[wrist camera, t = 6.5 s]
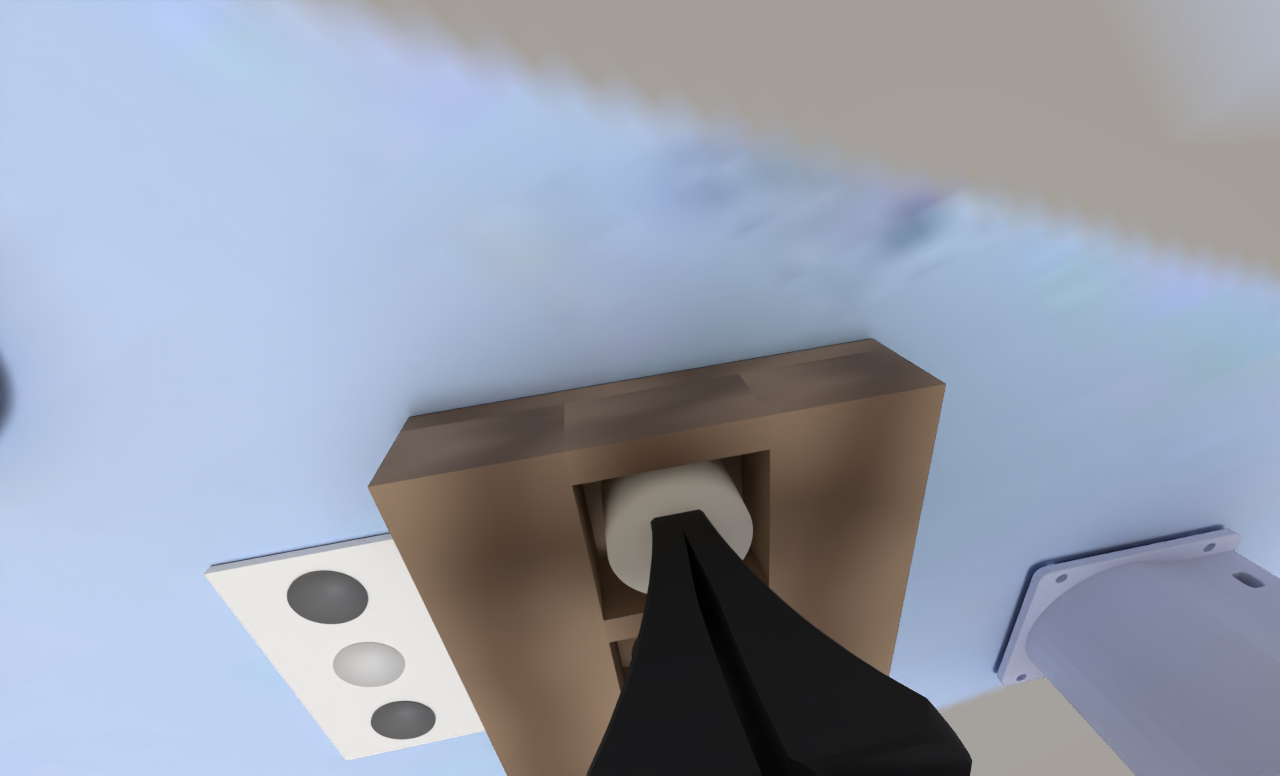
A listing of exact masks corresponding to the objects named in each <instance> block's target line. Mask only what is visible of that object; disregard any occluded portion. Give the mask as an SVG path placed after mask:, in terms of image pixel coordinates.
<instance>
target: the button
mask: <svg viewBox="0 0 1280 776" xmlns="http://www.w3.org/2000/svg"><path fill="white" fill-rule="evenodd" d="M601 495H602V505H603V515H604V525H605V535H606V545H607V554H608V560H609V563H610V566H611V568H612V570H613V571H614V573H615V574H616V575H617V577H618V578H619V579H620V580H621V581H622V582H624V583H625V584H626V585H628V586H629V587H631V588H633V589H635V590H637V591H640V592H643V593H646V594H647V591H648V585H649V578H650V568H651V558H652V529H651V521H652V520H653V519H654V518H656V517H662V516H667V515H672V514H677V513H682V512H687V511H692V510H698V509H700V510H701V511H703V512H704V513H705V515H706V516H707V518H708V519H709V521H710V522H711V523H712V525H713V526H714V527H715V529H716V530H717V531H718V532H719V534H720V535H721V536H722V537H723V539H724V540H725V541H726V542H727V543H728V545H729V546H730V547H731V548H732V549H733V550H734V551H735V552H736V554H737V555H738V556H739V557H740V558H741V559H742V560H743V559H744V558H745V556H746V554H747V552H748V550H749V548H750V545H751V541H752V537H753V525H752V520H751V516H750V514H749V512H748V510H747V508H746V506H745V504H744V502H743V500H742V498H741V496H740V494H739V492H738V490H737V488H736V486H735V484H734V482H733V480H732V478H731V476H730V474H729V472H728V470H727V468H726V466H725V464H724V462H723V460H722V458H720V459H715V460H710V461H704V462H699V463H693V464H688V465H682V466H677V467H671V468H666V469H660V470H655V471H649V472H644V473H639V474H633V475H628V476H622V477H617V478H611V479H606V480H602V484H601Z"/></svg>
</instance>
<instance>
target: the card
mask: <svg viewBox="0 0 1280 776" xmlns="http://www.w3.org/2000/svg"><path fill="white" fill-rule="evenodd" d="M204 575H205V576H206V578H207V579H208V580H209V581H210V583H211V584H212V585H213V587H214V588H215V589H216V591H217V592H218V593H219V595H220V596H221V597H222V598H223V600H224V601H225V602H226V604H227V605H228V606H229V608H230V609H231V610H232V612H233V613H234V614H235V615H236V617H237V618H238V619H239V621H240V622H241V623H242V625H243V626H244V627H245V629H246V630H247V631H248V632H249V634H250V635H251V636H252V638H253V639H254V640H255V642H256V643H257V644H258V646H259V647H260V648H261V649H262V651H263V652H264V653H265V655H266V656H267V657H268V659H269V660H270V661H271V663H272V664H273V665H274V667H275V668H276V669H277V670H278V672H279V673H280V674H281V676H282V677H283V678H284V680H285V681H286V682H287V684H288V685H289V686H290V687H291V689H292V690H293V691H294V693H295V694H296V695H297V697H298V698H299V699H300V701H301V702H302V703H303V704H304V706H305V707H306V708H307V710H308V711H309V712H310V714H311V715H312V716H313V718H314V719H315V720H316V721H317V723H318V724H319V725H320V727H321V728H322V729H323V731H324V732H325V733H326V735H327V736H328V737H329V738H330V740H331V741H332V742H333V744H334V745H335V746H336V748H337V749H338V750H339V752H340V753H341V754H342V756H343V757H344V758H345V759H346V761H347V760H352V759H356V758H361V757H366V756H370V755H375V754H380V753H384V752H389V751H393V750H398V749H403V748H407V747H412V746H417V745H421V744H426V743H431V742H435V741H440V740H445V739H449V738H454V737H459V736H463V735H468V734H473V733H477V732H482V731H485V729H484V726H483V724H482V722H481V720H480V718H479V716H478V714H477V712H476V710H475V708H474V706H473V704H472V702H471V700H470V698H469V695H468V693H467V691H466V689H465V687H464V685H463V683H462V681H461V679H460V677H459V675H458V673H457V671H456V669H455V667H454V664H453V662H452V660H451V658H450V656H449V654H448V652H447V650H446V648H445V646H444V644H443V642H442V640H441V638H440V635H439V633H438V631H437V629H436V627H435V625H434V623H433V621H432V619H431V617H430V615H429V613H428V611H427V609H426V607H425V604H424V602H423V600H422V598H421V596H420V594H419V592H418V590H417V588H416V586H415V584H414V582H413V580H412V578H411V576H410V573H409V571H408V569H407V567H406V565H405V563H404V561H403V559H402V557H401V555H400V553H399V551H398V549H397V547H396V545H395V542H394V540H393V538H392V536H391V534H390V533H389V534H384V535H379V536H373V537H368V538H362V539H357V540H352V541H346V542H341V543H335V544H330V545H325V546H319V547H314V548H308V549H303V550H298V551H292V552H287V553H281V554H276V555H271V556H265V557H260V558H254V559H249V560H244V561H238V562H233V563H227V564H222V565H217V566H211V567H210V568H209V569H208V570H207V571H206V572H205V573H204Z"/></svg>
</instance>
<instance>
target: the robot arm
mask: <svg viewBox="0 0 1280 776" xmlns="http://www.w3.org/2000/svg"><path fill="white" fill-rule="evenodd" d="M651 529H652V558H651V568H650V578H649V585H648V591H647V596H646V602H645V608H644V613H643V617H642V622H641V626H640V630H639V634H638V638H637V642H636V646H635V649H634V652H633V656H632V659H631V662H630V666H629V669H628V672H627V675H626V678H625V681H624V684H623V687H622V690H621V693H620V695H619V698H618V701H617V703H616V706H615V709H614V711H613V714H612V716H611V719H610V722H609V724H608V727H607V729H606V731H605V734H604V736H603V738H602V741H601V743H600V745H599V747H598V749H597V752H596V754H595V756H594V758H593V761H592V763H591V765H590V767H589V770H588V772H587V775H586V776H970V772H971V765H972V759H971V757H970V755H969V753H968V751H967V750H966V748H965V747H964V745H963V744H962V742H961V741H960V739H959V738H958V736H957V735H956V733H955V732H954V731H953V729H952V728H951V727H950V725H949V724H948V723H947V722H946V721H945V719H944V718H943V717H942V716H941V714H940V713H939V712H938V711H937V710H936V708H935V707H934V706H933V705H932V704H931V702H930V701H929V700H928V699H927V698H925V697H924V696H922V695H920V694H918V693H916V692H915V691H913V690H911V689H909V688H908V687H906V686H904V685H902V684H901V683H899V682H897V681H895V680H894V679H892V678H890V677H889V676H887V675H885V674H884V673H882V672H880V671H879V670H877V669H876V668H874V667H873V666H871V665H869V664H868V663H866V662H865V661H863V660H862V659H860V658H859V657H857V656H855V655H854V654H853V653H851V652H850V651H848V650H847V649H845V648H844V647H843V646H841V645H840V644H838V643H837V642H836V641H834V640H833V639H831V638H830V637H829V636H827V635H826V634H824V633H823V632H822V631H820V630H819V629H818V628H816V627H815V626H814V625H812V624H811V623H810V622H809V621H807V620H806V619H805V618H804V617H802V616H801V615H800V614H799V613H798V612H796V611H795V610H794V609H793V608H792V607H790V606H789V605H788V604H787V603H786V602H785V601H783V600H782V599H781V598H780V597H779V596H778V595H777V594H776V593H775V592H774V591H773V590H771V589H770V588H769V587H768V586H767V585H766V584H765V583H764V582H763V581H762V580H761V579H760V578H759V577H758V576H757V575H756V574H755V573H754V572H753V571H752V570H751V569H750V568H749V567H748V566H747V565H746V564H745V562H744V561H743V560H742V559H741V558H740V557H739V556H738V555H737V554H736V552H735V551H734V550H733V549H732V548H731V547H730V546H729V545H728V543H727V542H726V541H725V540H724V539H723V537H722V536H721V535H720V534H719V532H718V531H717V530H716V529H715V527H714V526H713V525H712V523H711V522H710V521H709V519H708V518H707V516H706V515H705V513H704V512H703V511H701V510H700V509H698V510H692V511H687V512H682V513H677V514H672V515H667V516H662V517H656V518H654V519H653V520H652V521H651ZM1239 541H1240V535H1239V534H1237V533H1235V532H1233V531H1232V530H1230V529H1222V530H1217V531H1212V532H1208V533H1203V534H1198V535H1193V536H1188V537H1184V538H1179V539H1174V540H1169V541H1164V542H1160V543H1155V544H1150V545H1145V546H1140V547H1136V548H1131V549H1126V550H1121V551H1116V552H1111V553H1107V554H1102V555H1097V556H1092V557H1087V558H1083V559H1078V560H1073V561H1068V562H1063V563H1059V564H1054V565H1049V566H1045V567H1042V568H1040V569H1038V570H1037V571H1036V572H1035V573H1034V575H1033V577H1032V580H1031V582H1030V585H1029V588H1028V590H1027V593H1026V596H1025V599H1024V601H1023V604H1022V607H1021V610H1020V612H1019V615H1018V618H1017V621H1016V623H1015V626H1014V629H1013V632H1012V634H1011V637H1010V640H1009V643H1008V645H1007V648H1006V651H1005V653H1004V656H1003V659H1002V662H1001V664H1000V667H999V670H998V673H997V678H998V679H999V680H1000V681H1001V683H1002V684H1004V685H1012V684H1017V683H1021V682H1026V681H1030V680H1034V679H1039V678H1043V677H1047V679H1048V680H1049V681H1050V682H1051V683H1052V684H1053V685H1054V686H1055V687H1056V688H1057V689H1058V691H1059V692H1060V693H1061V694H1062V695H1063V696H1064V697H1065V698H1066V699H1067V701H1068V702H1069V703H1070V704H1071V705H1072V706H1073V707H1074V708H1075V709H1076V710H1077V712H1078V713H1079V714H1080V715H1081V716H1082V717H1083V718H1084V719H1085V720H1086V721H1087V722H1088V724H1089V725H1090V726H1091V727H1092V728H1093V729H1094V730H1095V731H1096V733H1097V734H1098V735H1099V736H1100V737H1101V738H1102V739H1103V740H1104V741H1105V742H1106V743H1107V745H1108V746H1109V747H1110V748H1111V749H1112V750H1113V751H1114V752H1115V753H1116V754H1117V756H1118V757H1119V758H1120V759H1121V760H1122V761H1123V762H1124V763H1125V764H1126V766H1128V768H1129V769H1130V770H1131V771H1132V772H1133V773H1134V774H1135V775H1136V776H1280V579H1279V578H1278V577H1276V576H1274V575H1273V574H1271V573H1269V572H1268V571H1266V570H1264V569H1263V568H1261V567H1259V566H1258V565H1256V564H1254V563H1253V562H1251V561H1249V560H1248V559H1246V558H1244V557H1243V556H1241V555H1239V554H1238V553H1236V552H1234V549H1235V547H1236V546H1237V544H1238V543H1239Z"/></svg>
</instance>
